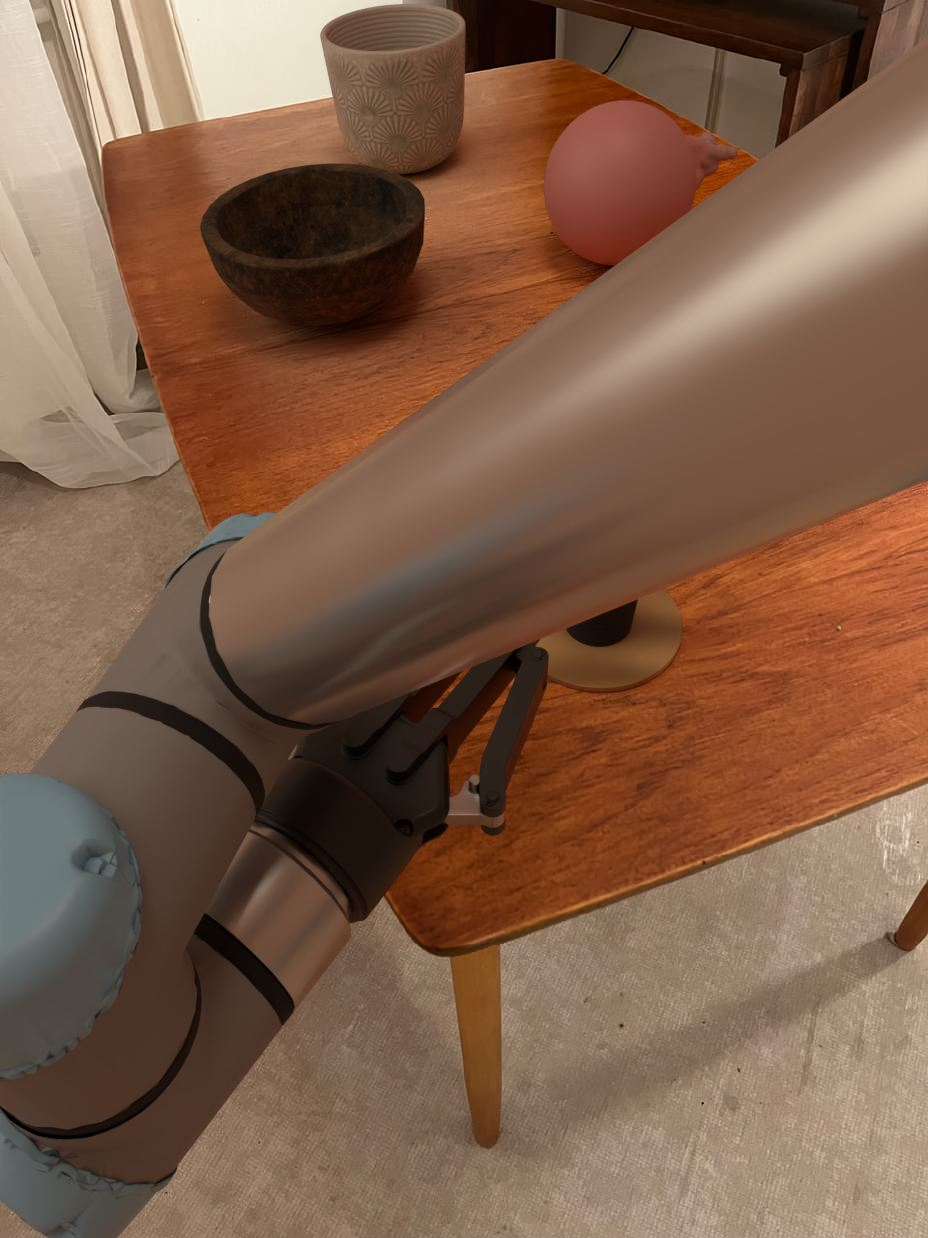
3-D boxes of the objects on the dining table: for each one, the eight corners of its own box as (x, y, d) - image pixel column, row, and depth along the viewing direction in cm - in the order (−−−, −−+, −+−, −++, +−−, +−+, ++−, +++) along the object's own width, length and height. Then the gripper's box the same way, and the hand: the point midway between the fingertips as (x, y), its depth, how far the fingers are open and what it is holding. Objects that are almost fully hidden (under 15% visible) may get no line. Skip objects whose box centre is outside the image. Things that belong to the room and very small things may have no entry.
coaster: (688, 694, 66) (689, 690, 65) (509, 690, 67) (509, 685, 66) (675, 568, 74) (676, 563, 73) (516, 565, 75) (516, 561, 74)
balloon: (749, 278, 101) (776, 123, 90) (558, 301, 100) (562, 146, 89) (704, 211, 112) (723, 64, 100) (531, 231, 110) (531, 84, 99)
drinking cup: (542, 583, 73) (545, 347, 58) (646, 582, 72) (675, 344, 57) (544, 663, 68) (547, 426, 53) (656, 662, 67) (690, 423, 52)
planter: (326, 146, 129) (306, 16, 118) (449, 124, 132) (441, -5, 121) (355, 199, 118) (337, 61, 107) (489, 174, 121) (484, 37, 110)
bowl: (397, 237, 111) (387, 147, 104) (462, 333, 97) (456, 236, 90) (207, 279, 107) (183, 188, 100) (246, 385, 93) (222, 288, 85)
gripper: (205, 844, 49) (468, 561, 62) (417, 987, 44) (655, 647, 57) (167, 760, 43) (465, 468, 56) (405, 914, 38) (672, 554, 51)
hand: (560, 558), depth 56 cm, fingers closed
